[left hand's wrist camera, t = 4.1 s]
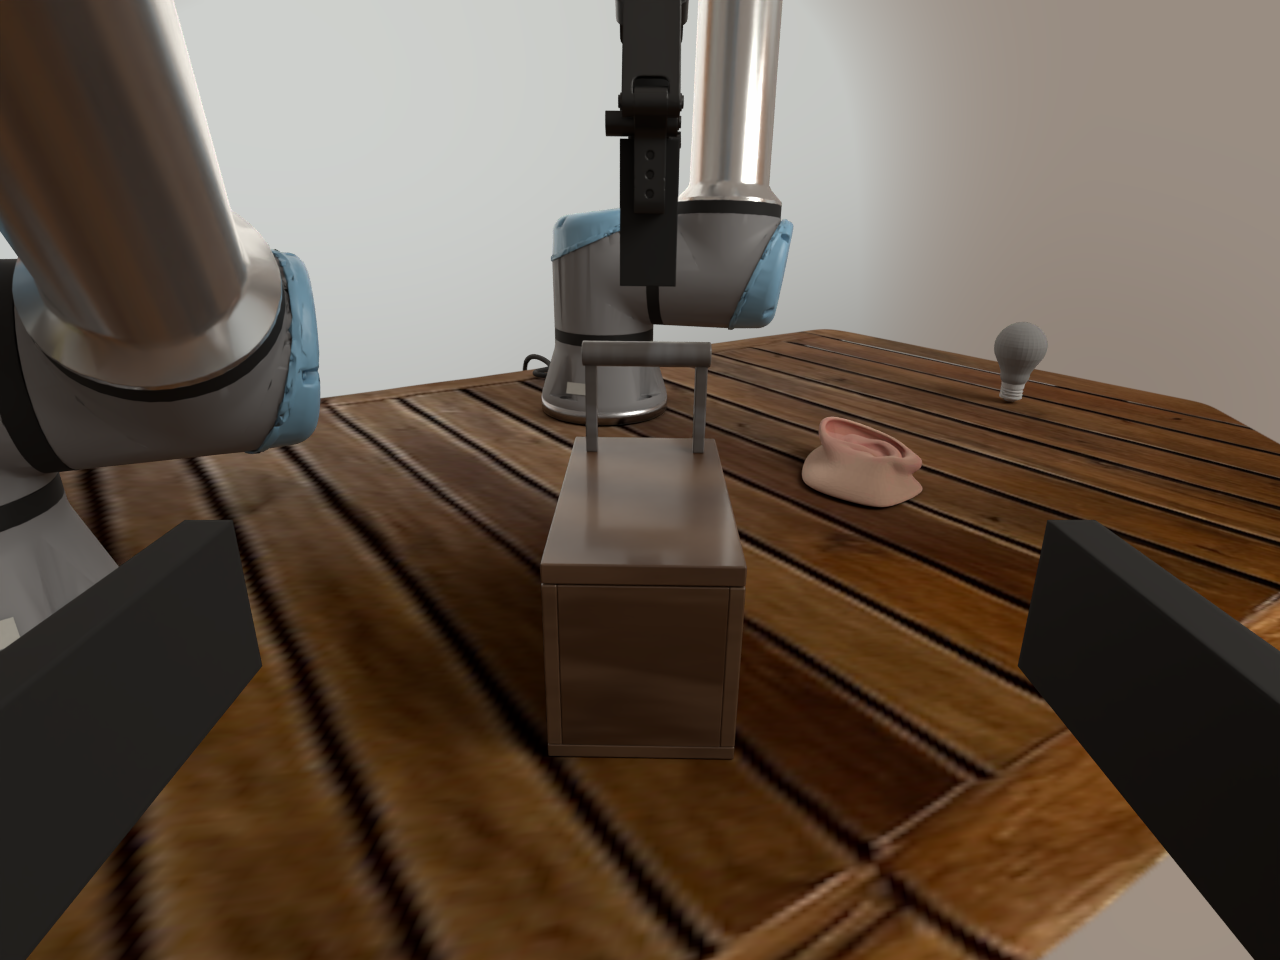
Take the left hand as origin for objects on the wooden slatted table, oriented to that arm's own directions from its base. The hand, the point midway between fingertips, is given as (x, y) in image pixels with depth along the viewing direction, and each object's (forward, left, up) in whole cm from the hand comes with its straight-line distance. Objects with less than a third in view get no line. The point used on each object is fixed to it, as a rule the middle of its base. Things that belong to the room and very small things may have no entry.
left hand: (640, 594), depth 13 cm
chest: (-22, +17, -20) cm, 34 cm away
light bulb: (-38, +89, -20) cm, 99 cm away
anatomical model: (-32, +51, -20) cm, 63 cm away
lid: (-22, +17, -11) cm, 30 cm away
